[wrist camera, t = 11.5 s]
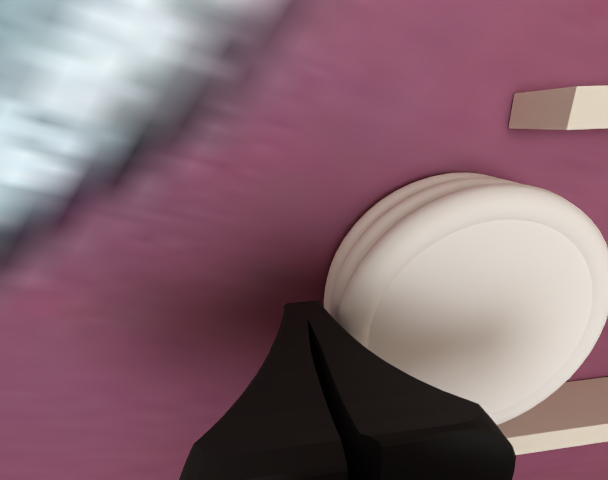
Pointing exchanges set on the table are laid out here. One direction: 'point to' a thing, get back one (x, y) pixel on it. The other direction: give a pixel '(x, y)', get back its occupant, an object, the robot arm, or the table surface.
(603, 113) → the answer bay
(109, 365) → the table surface
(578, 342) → the coaster
